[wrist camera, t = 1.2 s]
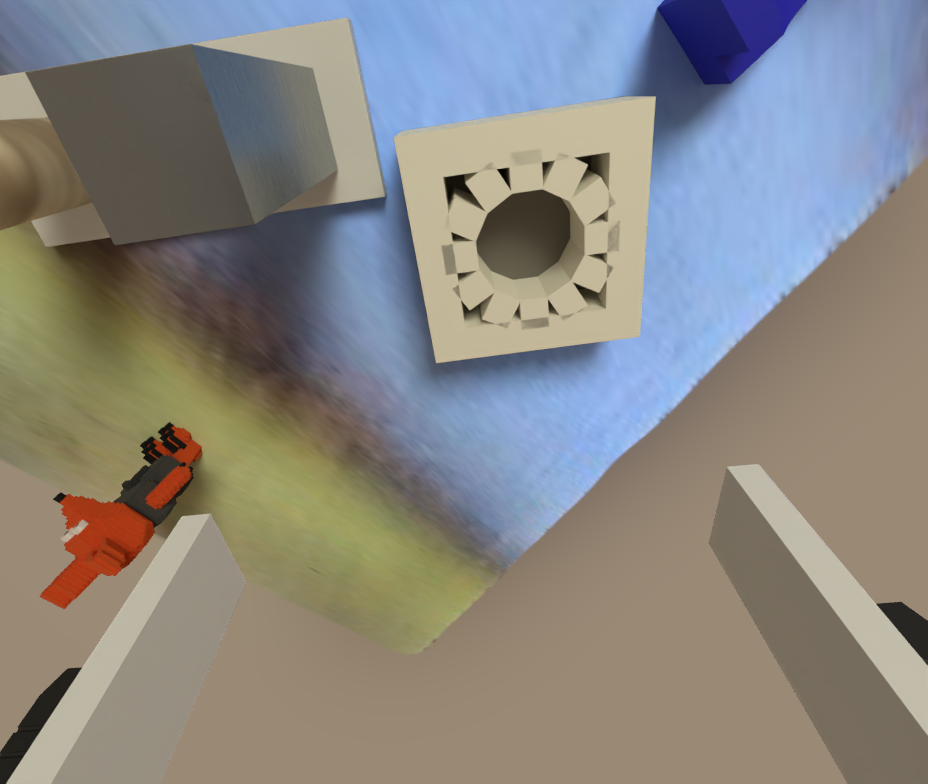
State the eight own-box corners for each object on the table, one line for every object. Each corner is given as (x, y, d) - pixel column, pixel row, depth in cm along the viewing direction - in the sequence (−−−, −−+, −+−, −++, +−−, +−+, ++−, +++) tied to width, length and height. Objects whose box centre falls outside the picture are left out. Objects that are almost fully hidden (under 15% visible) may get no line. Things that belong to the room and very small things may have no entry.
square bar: (222, 82, 24) (24, 72, 13) (312, 68, 24) (191, 44, 12) (256, 182, 26) (114, 245, 15) (338, 169, 26) (255, 224, 15)
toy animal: (168, 389, 34) (48, 514, 24) (229, 438, 37) (144, 571, 26) (102, 442, 36) (-33, 577, 26) (163, 485, 39) (61, 623, 29)
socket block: (401, 130, 26) (393, 137, 22) (624, 96, 25) (655, 96, 22) (437, 331, 32) (436, 363, 28) (616, 307, 32) (639, 336, 28)
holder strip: (-33, 85, 24) (-50, 84, 24) (351, 20, 23) (347, 17, 23) (58, 242, 29) (46, 247, 28) (386, 193, 28) (384, 196, 27)
